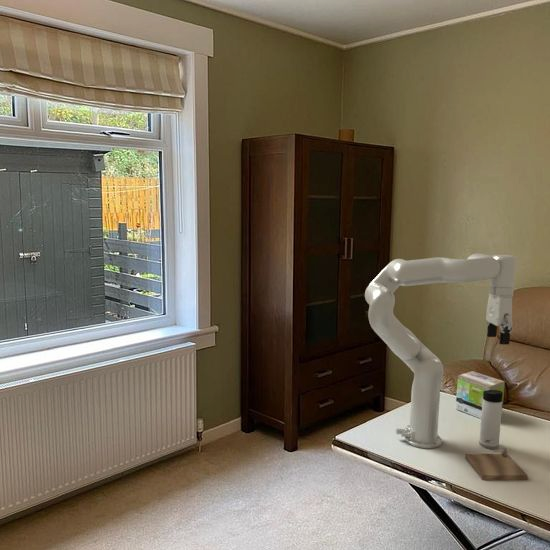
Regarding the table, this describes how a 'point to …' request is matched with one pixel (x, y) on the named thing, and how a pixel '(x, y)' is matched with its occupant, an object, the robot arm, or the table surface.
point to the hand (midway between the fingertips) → (497, 340)
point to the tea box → (475, 391)
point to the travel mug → (491, 419)
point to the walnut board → (496, 466)
